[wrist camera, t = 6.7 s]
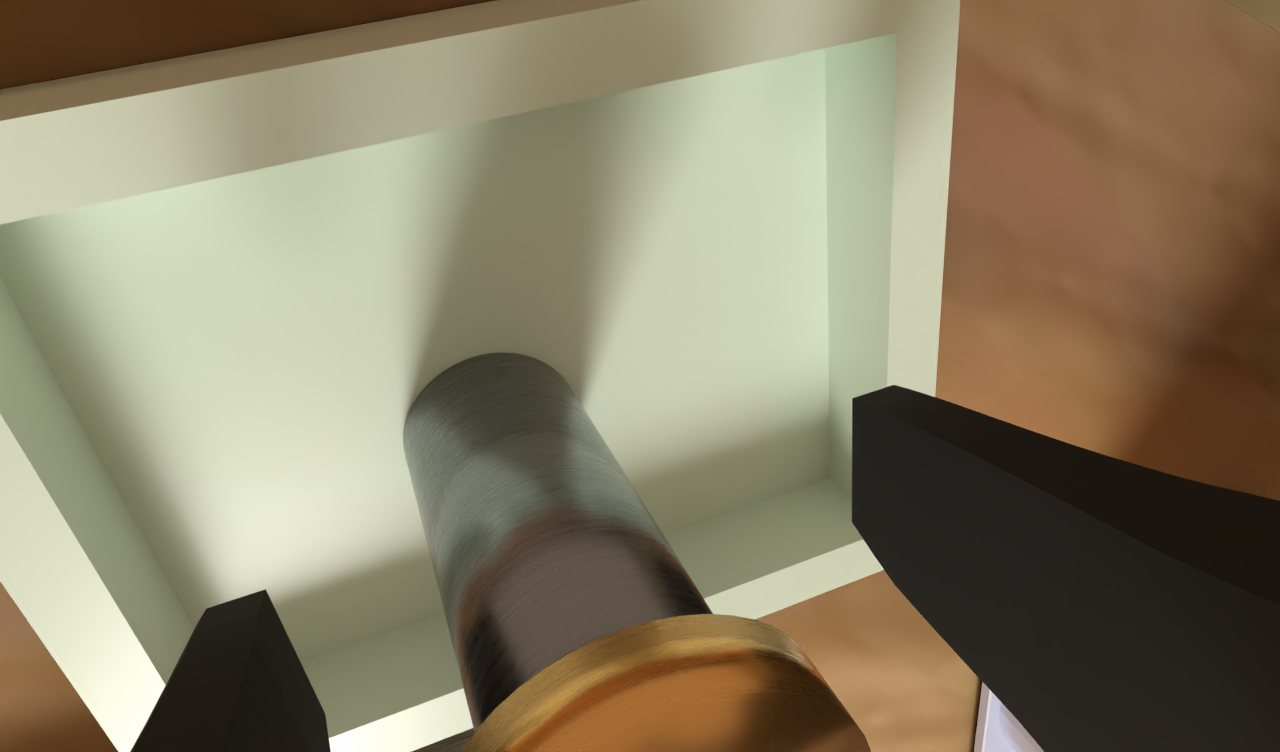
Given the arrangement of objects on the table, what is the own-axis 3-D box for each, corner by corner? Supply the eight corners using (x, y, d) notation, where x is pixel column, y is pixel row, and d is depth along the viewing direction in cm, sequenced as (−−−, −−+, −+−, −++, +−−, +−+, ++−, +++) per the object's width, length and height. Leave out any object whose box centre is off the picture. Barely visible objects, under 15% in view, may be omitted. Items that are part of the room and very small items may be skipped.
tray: (859, -65, 14) (963, -61, 11) (855, 484, 19) (925, 554, 17) (-169, 119, 10) (-282, 173, 8) (193, 719, 16) (179, 841, 14)
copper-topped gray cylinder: (600, 294, 14) (889, 632, 8) (620, 497, 16) (859, 898, 10) (336, 352, 13) (407, 810, 6) (394, 562, 15) (494, 1068, 9)
